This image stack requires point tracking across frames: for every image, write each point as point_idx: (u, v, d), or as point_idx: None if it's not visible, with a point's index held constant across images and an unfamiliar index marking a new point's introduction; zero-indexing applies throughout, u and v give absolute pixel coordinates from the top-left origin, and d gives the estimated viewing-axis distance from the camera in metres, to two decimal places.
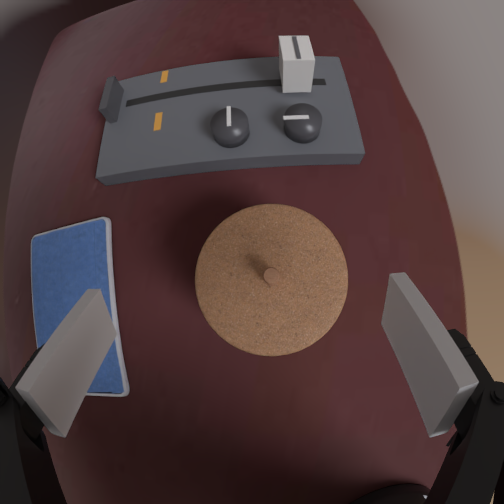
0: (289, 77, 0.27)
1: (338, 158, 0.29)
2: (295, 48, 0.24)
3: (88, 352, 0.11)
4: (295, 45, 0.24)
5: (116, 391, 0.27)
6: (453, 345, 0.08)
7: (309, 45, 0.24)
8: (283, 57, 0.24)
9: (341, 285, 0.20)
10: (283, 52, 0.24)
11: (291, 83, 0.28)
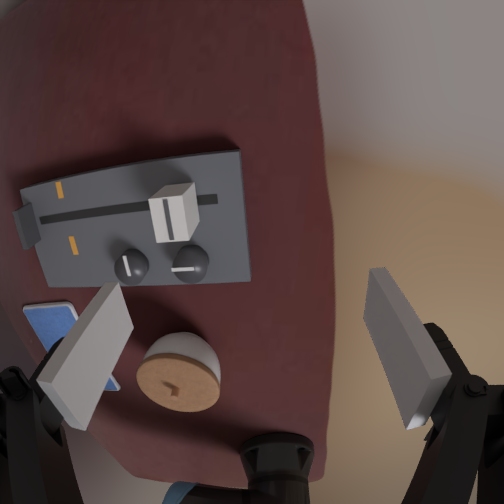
0: None
1: None
2: (167, 223, 0.25)
3: (107, 344, 0.12)
4: (167, 218, 0.25)
5: (113, 389, 0.47)
6: (428, 337, 0.09)
7: (182, 215, 0.25)
8: (156, 237, 0.26)
9: (215, 393, 0.35)
10: (155, 229, 0.26)
11: None
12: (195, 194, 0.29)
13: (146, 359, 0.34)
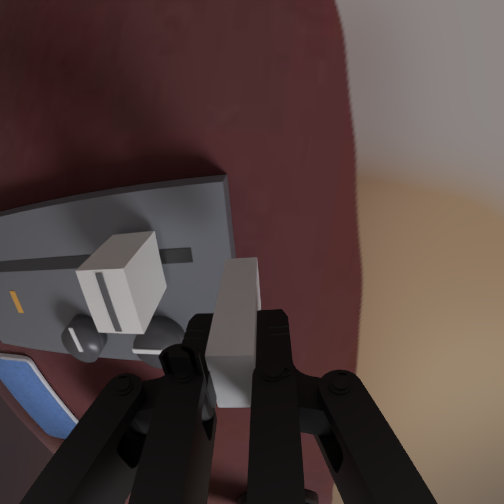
0: None
1: None
2: (107, 308, 0.15)
3: None
4: (105, 301, 0.15)
5: None
6: (255, 320, 0.10)
7: (129, 298, 0.15)
8: (96, 324, 0.15)
9: None
10: (93, 314, 0.15)
11: None
12: (157, 249, 0.19)
13: None
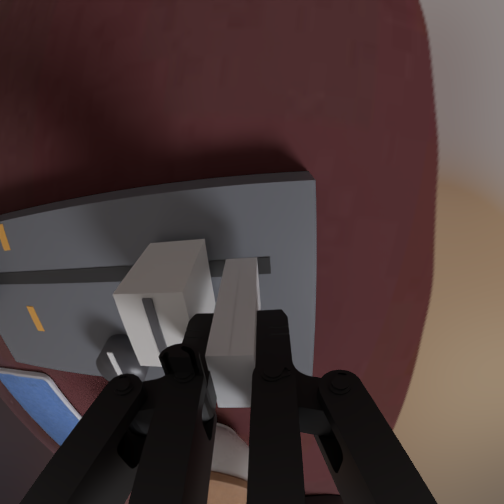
0: None
1: None
2: (156, 339, 0.12)
3: None
4: (154, 331, 0.12)
5: None
6: (255, 320, 0.10)
7: None
8: (138, 357, 0.13)
9: None
10: (135, 346, 0.12)
11: None
12: (207, 261, 0.16)
13: None
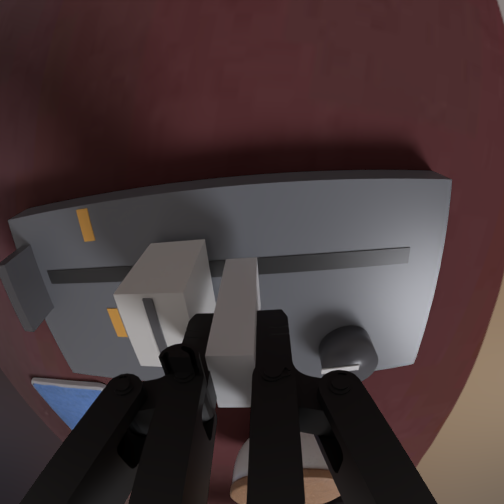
0: None
1: None
2: (156, 339, 0.12)
3: None
4: (155, 331, 0.12)
5: None
6: (255, 320, 0.10)
7: None
8: (139, 357, 0.13)
9: (338, 494, 0.21)
10: (135, 346, 0.12)
11: None
12: (207, 261, 0.16)
13: None
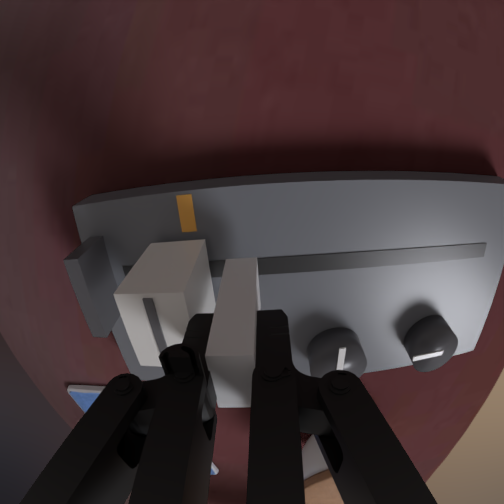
0: None
1: None
2: (156, 339, 0.12)
3: None
4: (155, 331, 0.12)
5: None
6: (255, 320, 0.10)
7: None
8: (139, 357, 0.13)
9: None
10: (135, 346, 0.12)
11: None
12: (207, 261, 0.16)
13: (329, 472, 0.19)
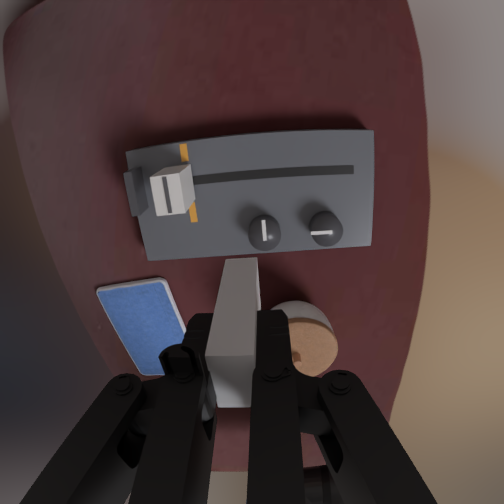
0: None
1: None
2: (166, 198, 0.29)
3: None
4: (165, 193, 0.28)
5: None
6: (255, 320, 0.10)
7: (179, 190, 0.28)
8: (156, 211, 0.29)
9: (333, 356, 0.37)
10: (156, 204, 0.29)
11: None
12: (191, 174, 0.32)
13: None
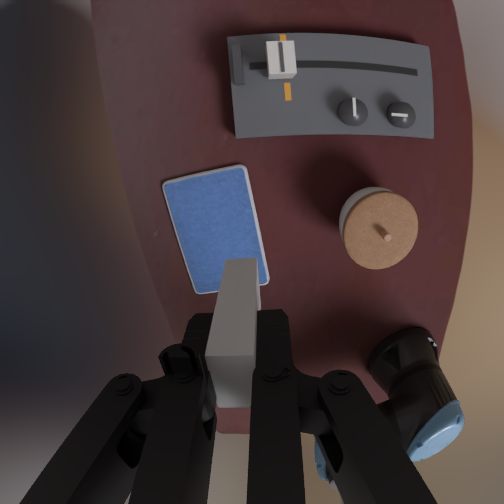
0: (274, 76, 0.31)
1: None
2: (280, 58, 0.28)
3: None
4: (280, 55, 0.28)
5: (261, 282, 0.49)
6: (255, 320, 0.10)
7: (293, 54, 0.28)
8: (269, 69, 0.29)
9: (414, 237, 0.37)
10: (269, 63, 0.29)
11: (275, 77, 0.32)
12: None
13: (362, 198, 0.36)
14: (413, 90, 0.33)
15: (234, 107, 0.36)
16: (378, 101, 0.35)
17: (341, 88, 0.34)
